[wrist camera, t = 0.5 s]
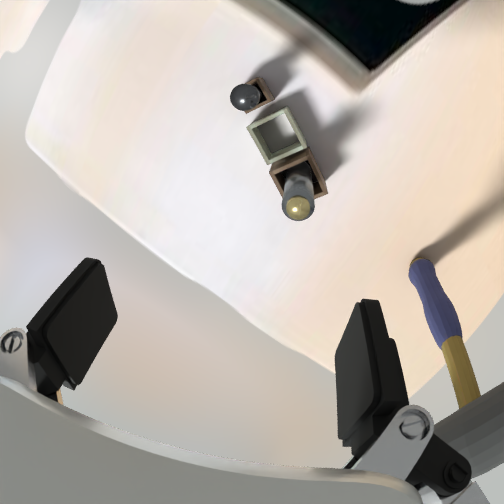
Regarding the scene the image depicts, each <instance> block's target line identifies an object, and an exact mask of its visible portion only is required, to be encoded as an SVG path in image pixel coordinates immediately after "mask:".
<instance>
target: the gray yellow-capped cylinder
mask: <svg viewBox="0 0 504 504" xmlns="http://www.w3.org/2000/svg"><path fill="white" fill-rule="evenodd" d="M314 208H315V204H314V193H313V183H312V174H311V168H310V166H309V165H308V164H307V163H306V162H302V163H299V164H297V165H295V166H292V167H290V168H288V169H287V175H286V181H285V188H284V194H283V200H282V210H283V212H284V214H285V215H286V216H287V217H288V218H290V219H292V220H295V221H302V220H305V219H307V218H309V217H310V216H311V215H312V213H313V212H314Z"/></svg>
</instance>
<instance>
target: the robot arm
mask: <svg viewBox="0 0 504 504" xmlns="http://www.w3.org/2000/svg"><path fill="white" fill-rule="evenodd" d="M117 317H118V315H117V311H116V308H115V304H114V301H113V298H112V294H111V291H110V287H109V283H108V280H107V276H106V272H105V268H104V265H102V264H101V261H100V260H97V259H93V258H85V259H84V260H83V261H82V262H81V263H80V264H79V265H78V266H77V267H76V268H75V269H74V271H72V272H71V274H70V275H69V276H68V277H67V278H66V279H65V280H64V281H63V283H62V284H61V285H60V286H59V287H58V288H57V289H56V291H55V292H54V293H53V294H52V295H51V296H50V298H49V299H48V300H47V301H46V302H45V304H44V305H43V306H42V307H41V309H40V310H39V311H38V312H37V313H36V315H35V316H34V317H33V318H32V320H31V321H30V322H29V324H28V325H27V326H26V327H27V329H28V332H27V333H25V331H24V330H22V329H21V328H12V329H10V330H8V331H6V332H5V333H4V334H3V335H2V336H1V337H0V504H490V503H489V501H488V500H487V498H486V497H485V495H484V493H483V492H482V490H481V489H480V487H479V486H478V484H477V483H476V481H474V482H472V481H471V475H472V470H471V465H470V463H469V461H468V460H467V459H466V458H465V457H464V456H462V455H461V454H460V453H458V452H457V451H456V450H454V449H453V448H452V447H451V446H449V445H448V444H447V443H445V442H444V441H443V440H442V439H440V438H439V437H438V436H436V435H435V434H434V433H433V431H434V422H433V418H432V417H431V415H430V414H429V412H428V411H427V410H425V409H424V408H422V407H420V406H417V405H409V401H408V395H407V390H406V386H405V381H404V376H403V372H402V367H401V363H400V359H399V355H398V351H397V347H396V343H395V341H394V340H393V338H389V336H388V332H387V328H386V324H385V320H384V317H383V313H382V309H381V306H380V303H379V301H378V300H371V299H362V300H361V302H360V303H359V302H357V303H356V304H355V307H354V309H353V312H352V314H351V317H350V319H349V322H348V324H347V326H346V329H345V331H344V334H343V336H342V338H341V341H340V343H339V345H338V348H337V350H336V353H335V371H336V389H337V413H338V414H337V416H338V438H339V439H342V440H343V446H344V447H352V448H351V449H352V455H353V456H352V458H351V459H350V460H349V461H348V462H347V463H346V464H345V466H343V468H342V469H335V468H312V467H295V466H284V465H274V464H264V463H255V462H248V461H241V460H235V459H229V458H224V457H218V456H213V455H208V454H204V453H199V452H195V451H190V450H186V449H182V448H178V447H174V446H171V445H167V444H163V443H160V442H156V441H153V440H150V439H146V438H143V437H140V436H137V435H135V434H131V433H128V432H126V431H123V430H120V429H118V428H115V427H112V426H110V425H107V424H104V423H102V422H100V421H97V420H95V419H92V418H90V417H88V416H85V415H83V414H81V413H79V412H76V411H74V410H72V409H70V408H68V407H66V406H64V405H63V401H62V395H61V390H60V387H61V386H62V384H63V385H64V386H65V387H67V388H70V389H72V390H75V388H76V386H77V385H79V384H81V382H82V380H83V379H84V377H85V375H86V373H87V371H88V370H89V368H90V366H91V364H92V362H93V361H94V359H95V357H96V355H97V353H98V352H99V350H100V349H101V347H102V345H103V343H104V342H105V340H106V338H107V337H108V335H109V333H110V332H111V330H112V328H113V327H114V325H115V324H116V321H117Z"/></svg>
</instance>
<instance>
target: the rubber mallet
mask: <svg viewBox="0 0 504 504" xmlns="http://www.w3.org/2000/svg"><path fill="white" fill-rule="evenodd" d="M409 279H410V281H411V283H412V284H413V285H414V286H415V287H416V289H417V291H418V293H419V296H420V298H421V301H422V303H423V308H424V313H425V317H426V320H427V323H428V325H429V328H430V330H431V333H432V335H433V337H434V339H435V341H436V343H437V345H438V346H439V348H440V349H441V350H442V351H443V354H444V357H445V360H446V363H447V367H448V370H449V373H450V376H451V380H452V383H453V387H454V390H455V394H456V397H457V401H458V405H459V410H457V411H456V412H454V413H453V414H451V415H450V416H448V417H446V418H445V419H443V420H441V421H440V422H438V423H437V424H435V425H434V431H433V433H434V434H435V435H436V436H438V437H439V438H440V439H442V440H443V441H444V442H445V443H447V444H448V445H449V446H451V447H452V448H453V449H454V450H456V451H457V452H458V453H460V454H461V455H462V456H464V457H465V458H466V459H467V460H468V461H469V463H470V465H471V470H472V475H471V479H472V478H474V477H477V476H479V475H482V474H484V473H486V472H488V471H490V470H491V469H493V468H495V467H497V466H498V465H500V464H502V463H504V382H503V383H501V384H500V385H498V386H497V387H495V388H493V389H492V390H490V391H488V392H487V393H485V394H484V395H482V396H481V395H480V391H479V388H478V384H477V381H476V378H475V375H474V372H473V368H472V366H471V363H470V360H469V357H468V354H467V351H466V348H465V346H464V343H463V340H462V330H461V326H460V322H459V319H458V316H457V313H456V311H455V308H454V306H453V304H452V302H451V301H450V299H449V298H448V297H447V295H446V294H445V292H444V290H443V288H442V286H441V284H440V282H439V280H438V278H437V276H436V272H435V268H434V265H433V264H432V263H431V262H430V261H429V260H427V259H424V258H416V259H415V260H413V261H412V263H411V264H410V268H409Z"/></svg>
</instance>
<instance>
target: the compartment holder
mask: <svg viewBox="0 0 504 504" xmlns="http://www.w3.org/2000/svg"><path fill="white" fill-rule="evenodd" d="M257 83H258V85H259V87H260V88H261V90H262V92H263V94H264V95H265V97H266V99H267V100H266V101H264V102H262V103H260V104H258V105H257V106H256V107H254V108H252V109H250V110H247V111H245V113H246V114H247V113H249V112H251V111H253V110H255V109H257V108H259V107H261V106H263V105H265V104H267V103H269V102H271V101H273V100H275V99H274V97H273V95H272V93H271V92H270V90H269V88H268V86H267V85H266V83H265V81H264V80H263V78H259V77H257V78H255V79H253V80H251V81H249V82H247V83H245V84H250V85H253V86H254V85H256V84H257ZM284 113H285V114H286V116H287V118H288V120H289V122H290V124H291V126H292V128H293V130H294V131H295V133H296V135H297V137H298V139H299V142H297V143H294V144H292V145H290V146H288V147H285V148H283V149H281V150H279V151H277V152H274V153H272V154H271V152H270V150H269V148H268V146H267V144H266V143H265V141H264V139H263V137H262V135H261V134H260V132H259V130H258V128H257V126H259V125H261V124H263V123H265V122H267V121H269V120H271V119H273V118H275V117H278V116H280V115H282V114H284ZM246 128H247V130H248V131H249V133H250V135H251V137H252V138H253V140H254V142H255V144H256V145H257V147H258V149H259V151H260V153H261V154H262V156H263V158H264V160H265V162H266V164H267V165H269V164H271V163H272V166H271V169H270V171H269V174H270V175H271V177H272V179H273V181H274V183H275V185H276V187H277V189H278V190H279V192H280V194H281V196H282V198H283V194H284V188H285V181H286V180H285V178H284V176H283V174H282V172H281V171H283V170H286V169H288V168H290V167H292V166H295V165H297V164H299V163H302V162H304V161H306V160H308V161H309V163H310V165H311V167H312V169H313V172H314V174H315V176H316V178H317V180H318V181H317V182H314V183H313V193H314V199H316V198H319V197H321V196H324V195H326V194H328V192H327V187H326V183H325V180H324V178H323V175H322V173H321V171H320V169H319V167H318V165H317V163H316V161H315V158H314V156H313V154H312V152H311V150H310V148H309V147H307V143H306V140H305V138H304V136H303V134H302V132H301V130H300V128H299V126H298V124H297V123H296V121H295V119H294V117H293V115H292V113H291V111H290V109H289V107H288V106H287V107H284V108H282V109H280V110H278V111H276V112H274V113H272V114H270V115H268V116H266V117H263V118H261V119H259V120H257V121H255V122H253V123H251V124H250V125H249V126H248V127H246Z"/></svg>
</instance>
